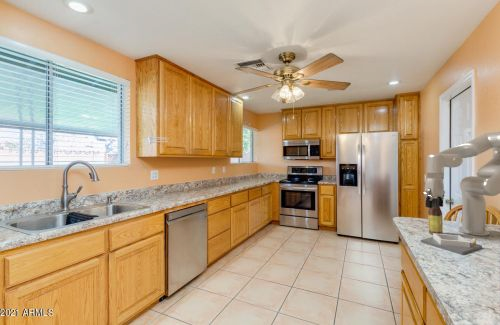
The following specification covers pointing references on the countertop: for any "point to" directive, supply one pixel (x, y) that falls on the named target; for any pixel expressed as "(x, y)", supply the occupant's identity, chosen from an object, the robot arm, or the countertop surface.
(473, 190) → the robot arm
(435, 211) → the sauce bottle
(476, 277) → the countertop surface
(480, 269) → the countertop surface
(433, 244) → the locating plate
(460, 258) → the countertop surface
